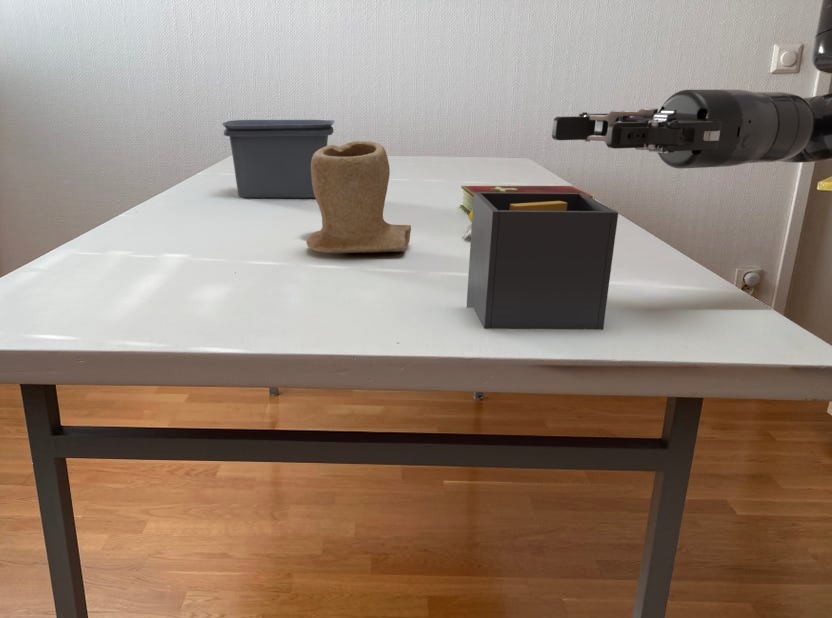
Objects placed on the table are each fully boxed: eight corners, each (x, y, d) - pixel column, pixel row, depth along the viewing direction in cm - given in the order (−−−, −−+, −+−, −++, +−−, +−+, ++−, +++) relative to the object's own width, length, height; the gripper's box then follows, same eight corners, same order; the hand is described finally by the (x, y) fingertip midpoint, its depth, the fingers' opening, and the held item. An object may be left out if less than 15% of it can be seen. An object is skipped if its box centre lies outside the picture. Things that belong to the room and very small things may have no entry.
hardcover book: (592, 218, 135) (595, 194, 134) (473, 219, 134) (475, 194, 132) (570, 206, 146) (572, 184, 145) (460, 207, 145) (461, 184, 143)
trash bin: (569, 310, 84) (583, 192, 79) (601, 345, 73) (618, 212, 69) (466, 310, 84) (473, 191, 79) (483, 344, 73) (492, 211, 69)
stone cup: (305, 263, 103) (304, 146, 98) (306, 243, 114) (305, 137, 109) (419, 262, 104) (424, 146, 98) (409, 243, 115) (413, 138, 109)
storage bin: (222, 200, 149) (218, 122, 144) (234, 188, 164) (231, 117, 159) (333, 201, 149) (333, 124, 144) (335, 189, 164) (335, 118, 159)
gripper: (670, 87, 83) (541, 87, 78) (781, 91, 71) (637, 92, 65) (660, 159, 86) (534, 164, 81) (765, 175, 73) (625, 182, 68)
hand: (580, 131), depth 73 cm, fingers open, 8 cm apart
